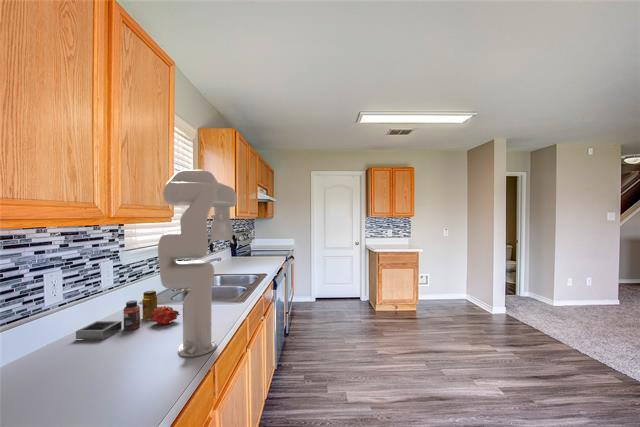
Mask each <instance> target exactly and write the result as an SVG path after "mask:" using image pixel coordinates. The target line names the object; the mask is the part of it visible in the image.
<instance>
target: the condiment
mask: <svg viewBox="0 0 640 427" xmlns="http://www.w3.org/2000/svg"><path fill="white" fill-rule="evenodd" d="M157 307H158V296H157V291H156V290H146V291H144V292H143V298H142V311H141V312H142V316H140V320H145V321H146V320H147V321H151V319H152V318H151V317H150V315H151V312H152V311H153V310H154V309H156V308H157Z"/></svg>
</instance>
